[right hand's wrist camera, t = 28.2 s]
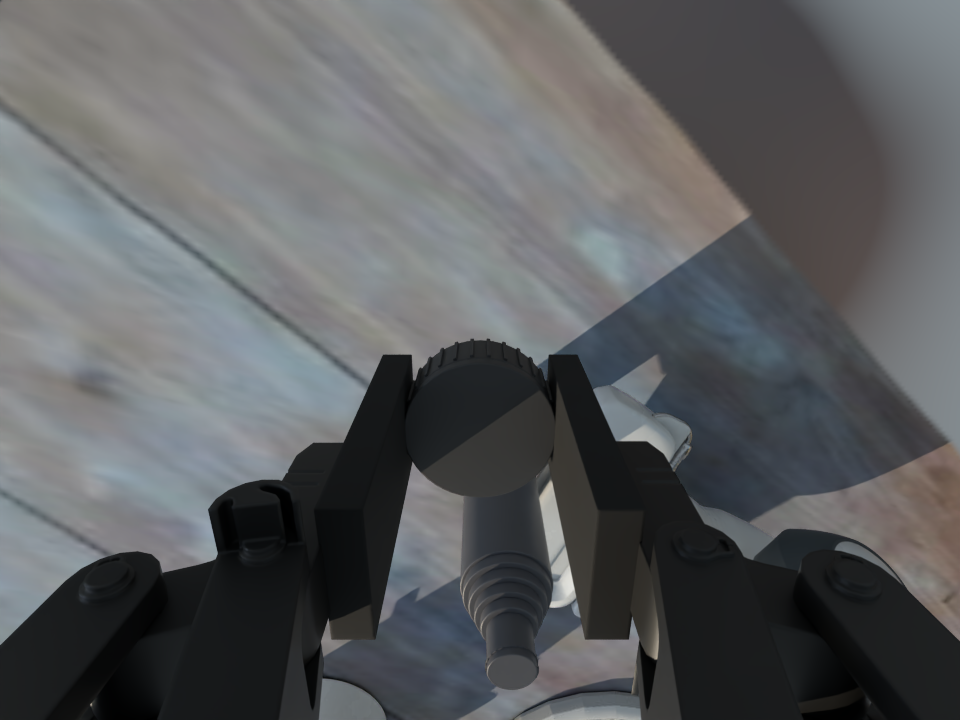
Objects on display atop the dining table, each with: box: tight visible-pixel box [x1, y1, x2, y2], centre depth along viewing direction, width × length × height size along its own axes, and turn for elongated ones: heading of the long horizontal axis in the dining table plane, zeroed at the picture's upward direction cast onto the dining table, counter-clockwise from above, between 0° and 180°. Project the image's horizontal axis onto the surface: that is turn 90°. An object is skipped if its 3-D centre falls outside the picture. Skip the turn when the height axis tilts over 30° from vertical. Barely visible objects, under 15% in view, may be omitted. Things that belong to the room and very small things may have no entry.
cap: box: [405, 339, 555, 497], centre depth 14 cm, size 4×4×2 cm
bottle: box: [460, 476, 553, 690], centre depth 39 cm, size 6×6×25 cm
